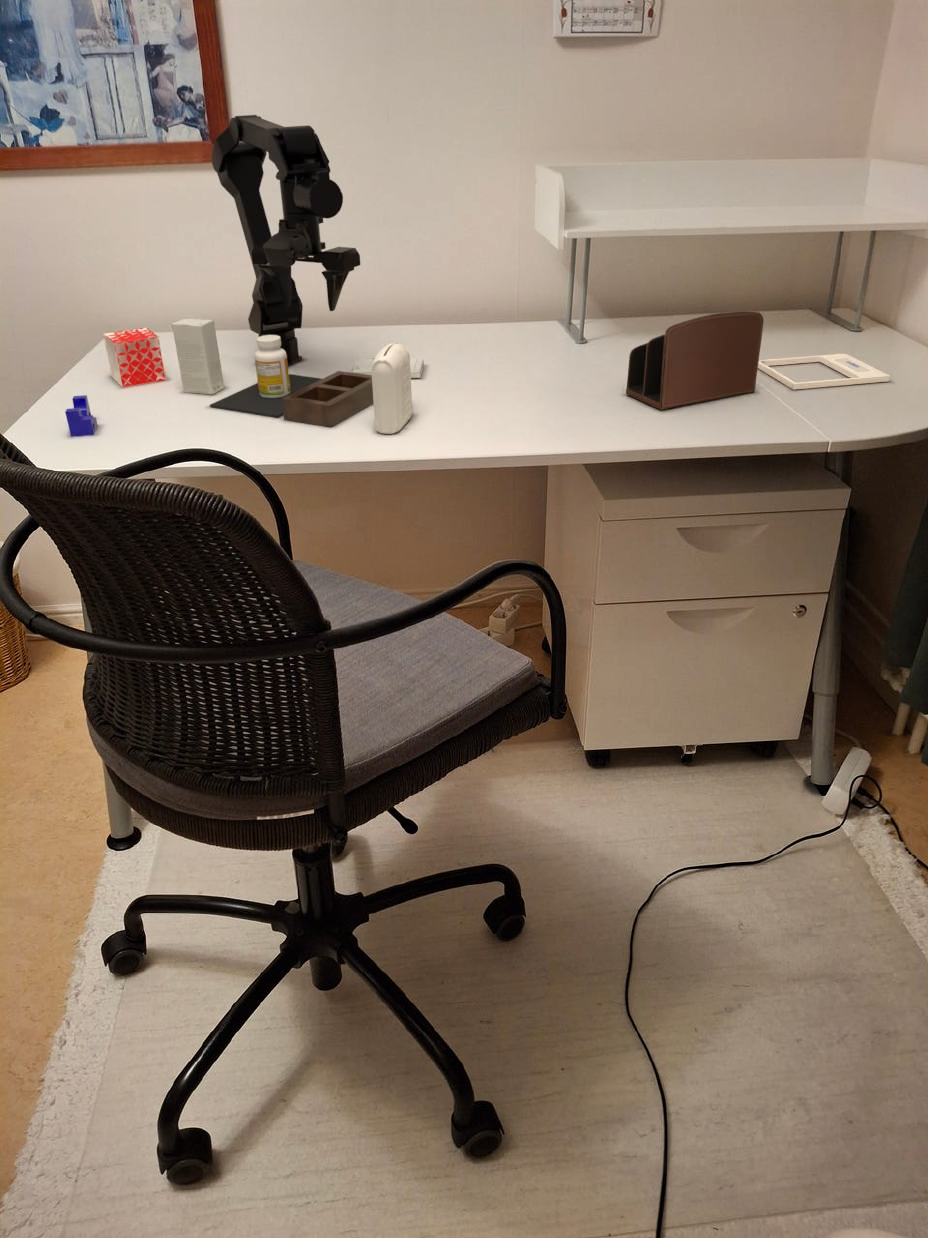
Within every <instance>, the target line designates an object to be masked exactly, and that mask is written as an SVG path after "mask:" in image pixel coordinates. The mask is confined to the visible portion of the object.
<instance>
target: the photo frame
mask: <svg viewBox="0 0 928 1238" xmlns="http://www.w3.org/2000/svg"><path fill="white" fill-rule="evenodd" d="M817 362H818V363H819V362H820V363H821V364H823V365H825V366H828V367H829V368H831V369H833V370H835V371H836V372H838V373H840V374H842V375H844V376H845V377H847V378H835V379H825V380H824V379H823V380H811V381H802V382H801V381H799V382H796V381H793V380H792V379H791V378H789V377H787V376H785V375H784V374H782V373H780V372H779V371H778V370H775V369H773V368H772V367H770V366H779V365H780V366H782V365H794V364H795V365H796V364H805V363H807V364H808V363H817ZM758 369H759V370H760V371H762V372H763V373H765V374H766V375H768V376H770V377H772V378H773V379H775V380H776V381H779V382H780V383H782V384H783V385H785V386H787V387H788V388H790V389H791V390H802V389H803V390H804V389H814V388H815V389H816V388H827V387H840V386H847V385H848V386H849V385H851V386H852V385H861V384H862V385H863V384H873V383H884V382H885V383H886V382H890V380H891V379H890V378H891V375H889V374H887V373H886V372H884V371H881V370H879V369H877V368H875V367H873V366H871V365H869V364H867V363H865V362H863V361H861V360H859V359H857V358H855V357H853V356H851V355H849V354H847V353H834V354H823V355H822V354H820V355H809V356H796V357H785V358H784V357H783V358H772V359H771V358H770V359H759V362H758Z"/></svg>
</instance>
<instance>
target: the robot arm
mask: <svg viewBox="0 0 928 1238" xmlns="http://www.w3.org/2000/svg"><path fill="white" fill-rule="evenodd" d="M321 143H322V142H321V141H320V138H319V136H318V134H317V133H316V131H315V129H314V128H313V127H312V126H311V125H309V124H308V125H307V124H306V125H293V126H284V125H281V124H278V123H275V122H273V121H270V120H267V119H264V118H262V116H260V115H257V114H246V115H234V117H231V118H230V121H229V123H228V127H227V128H226V129H224V130H223V131H222V132H221V133H220V134H219V135H218V136H217V137H216V138H215V140H214V145H213V148H212V150H211V165H212V168H213V170H214V171H215V173H216V175H217V177H218V180H219V183H220V185H221V186H222V187H223V189H224V190H225V191H226V192H227V193H228V194H229V195H230V196H231V197H232V198H233V199H234V200H233V201H234V203H235V207H236V211H237V214H238V218H239V221H240V225H241V229H242V232H243V236H244V240H245V242H246V247H247V250H248V253H249V257H250V261H251V265H252V268H253V272H254V275H255V283H254V286H253V289H252V292H251V297H252V302H253V303H252V305H251V309H250V312H249V314H248V318H247V320H248V324H249V328H250V331H252V332H253V333H255V334H257V335H258V337H260V336H264V335H278V336H280V338H281V346H280V348H282V349H284V350H285V352H286V354H287V362H288V366H291V365H293V364H295V363H297V362H299V361H301V360H303V356H302V355H300V353H299V345H298V338H297V336H296V333H295V331H296V330H295V329H302V325H303V307H304V306H303V302H302V299H301V297H300V296H299V293H298V291H297V286H296V282H295V280H294V278H293V277H292V266H294V265H295V264H296V262H302V263H303V262H304V263H315V264H321V265H322V267H323V268H324V269H325V270H323V271H321V274H322V277H323V278H324V279H325V283H326V293H327V294H326V295H327V304H328V309H329V312H334V311H335V310H336V308H337V305H338V302H339V300H340V299H339V298H340V296H341V292H342V290H343V287H344V284H345V283H346V281H347V278H348V275H349V273H351V272H353V271H355V268H357V267H360V266H361V255H360V253H359V251H358V250H357V248H356V247H348V246H347V247H346V246H336V247H334V248H329V249H327V250H326V242H325V241H321V229H320V225H321V224H324V219H331V218H334V217H335V216H337V215H338V214H339V213H340V211H341V209H342V207H343V203H344V196H343V193H342V190H341V188H340V186H339V184H337V182H335V181H334V180H333V179H331V177H330V173H331V168H330V165H329V164H330V159H329V158H328V155H327V154H326V152H325V149H324V147H323V145H322V144H321ZM267 153H268V160H270V162H272V163H273V164H274V165H275V167H276V169H277V172H276V174H275V179H276V180H278V181H279V188H280V195H281V196H280V198H281V207H282V215H283V218H280V219H278V232H277V233H275V234H273V235H272V232H271V229H270V228H271V227H270V225H269V221H268V217H267V215H266V210H265V206H264V202H263V199H262V196H261V191H260V188H261V184H262V181H263V179H264V168H263V165H264V163H265V160H266V158H267ZM322 250H323V251H322Z"/></svg>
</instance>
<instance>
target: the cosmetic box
mask: <svg viewBox="0 0 928 1238" xmlns="http://www.w3.org/2000/svg"><path fill="white" fill-rule="evenodd" d="M171 328H172V332H173V337H174V343H175V349H176V354H177V361H178V367H179V373H180V378H181V384H182V390H183V392H184V393H189V394H191V393H192V394H200V395H201V394H202V395H214V394H216V393H218V392H219V391H222V390H224V389H225V383H224V376H223V370H222V363H221V358H220V352H219V343H218V337H217V332H216V331H217V330H216V325H215V321H214V319H199V318H187V317H186V318H183V319H180V320H178V321H176V322H173V323H171Z"/></svg>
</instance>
